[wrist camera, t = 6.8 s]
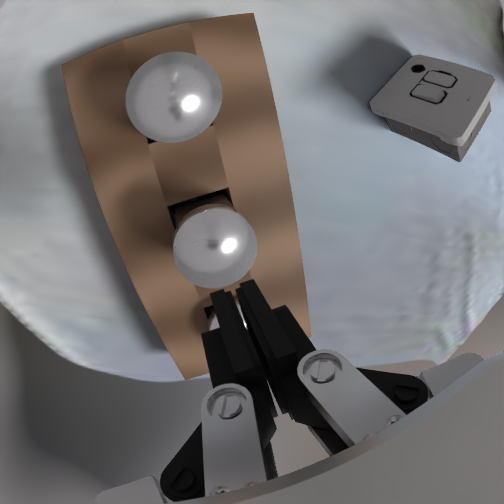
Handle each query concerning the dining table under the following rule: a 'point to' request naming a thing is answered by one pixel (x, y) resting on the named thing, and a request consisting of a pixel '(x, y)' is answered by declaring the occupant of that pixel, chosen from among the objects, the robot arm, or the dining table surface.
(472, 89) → the electrical switch
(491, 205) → the dining table surface
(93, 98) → the knob mount
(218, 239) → the knob mid
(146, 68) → the knob near
